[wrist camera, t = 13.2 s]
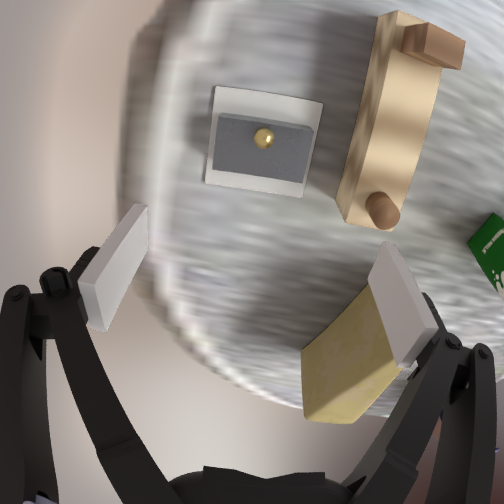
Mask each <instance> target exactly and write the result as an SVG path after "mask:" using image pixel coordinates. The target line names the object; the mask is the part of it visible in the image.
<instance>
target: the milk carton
mask: <svg viewBox="0 0 504 504" xmlns="http://www.w3.org/2000/svg"><path fill="white" fill-rule="evenodd" d="M467 244H468V246H469V248H470V249H471V251H472V253H473V254H474V256H475V258H476V260H477V261H478V263H479V265H480V267H481V268H482V270H483V272H484V273H485V275H486V276H487V278H488V279H489V281H490V282H491V283H492V285H493V286H494V288H495V289H496V291H497V292H498V293H499V295H500V296H501V298H502V299H503V301H504V220H503V219H501V218H500V217H499V216H497V215H496V214H495V213H493V214H492V215H491V217H490V218H489V219H488V220H487V221H486V222H485V224H484V225H483V226H482V227H481V228H480V229H479V230H478V232H477V233H476V234H475V235H474V236H473V237H472V238H471V239H470V241H469V242H468V243H467Z"/></svg>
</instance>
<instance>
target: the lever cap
mask: <svg viewBox="0 0 504 504" xmlns="http://www.w3.org/2000/svg"><path fill="white" fill-rule="evenodd" d="M313 134H314V131H313V130H312V129H311V127H310V126H305V125H300V124H294V123H289V122H284V121H278V120H272V119H266V118H259V117H253V116H246V115H238V114H231V113H221V114H220V115H219V116H218V122H217V130H216V138H215V147H214V156H213V165H212V170H218V171H226V172H233V173H240V174H247V175H253V176H260V177H266V178H272V179H278V180H284V181H290V182H296V183H303V179H304V174H305V170H306V166H307V161H308V157H309V153H310V148H311V144H312V139H313Z"/></svg>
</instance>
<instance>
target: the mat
mask: <svg viewBox="0 0 504 504" xmlns="http://www.w3.org/2000/svg"><path fill="white" fill-rule="evenodd" d="M322 108H323V103H319V102H314V101H310V100H305V99H300V98H295V97H290V96H284V95H279V94H273V93H267V92H260V91H253V90H246V89H238V88H230V87H221V86H216V88H215V96H214V103H213V111H212V120H211V128H210V137H209V146H208V156H207V166H206V176H205V184H212V185H220V186H227V187H234V188H241V189H248V190H254V191H261V192H267V193H274V194H280V195H286V196H292V197H298V198H302V196H303V192H304V188H305V184H306V179H307V175H308V171H309V166H310V162H311V158H312V153H313V149H314V145H315V140H316V136H317V131H318V127H319V122H320V117H321V113H322ZM221 113H231V114H238V115H246V116H253V117H259V118H266V119H272V120H278V121H284V122H289V123H294V124H300V125H305V126H310V127H311V129H312V130H313V131H314V134H313V139H312V144H311V148H310V153H309V157H308V161H307V166H306V170H305V174H304V179H303V183H296V182H290V181H284V180H278V179H272V178H266V177H260V176H253V175H247V174H240V173H233V172H226V171H218V170H212V165H213V156H214V147H215V138H216V130H217V122H218V116H219V115H220V114H221Z"/></svg>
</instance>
